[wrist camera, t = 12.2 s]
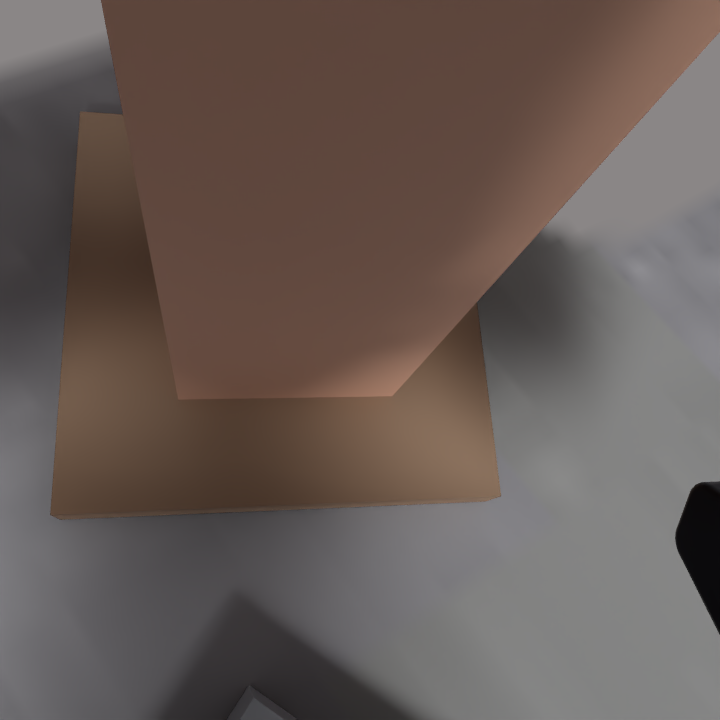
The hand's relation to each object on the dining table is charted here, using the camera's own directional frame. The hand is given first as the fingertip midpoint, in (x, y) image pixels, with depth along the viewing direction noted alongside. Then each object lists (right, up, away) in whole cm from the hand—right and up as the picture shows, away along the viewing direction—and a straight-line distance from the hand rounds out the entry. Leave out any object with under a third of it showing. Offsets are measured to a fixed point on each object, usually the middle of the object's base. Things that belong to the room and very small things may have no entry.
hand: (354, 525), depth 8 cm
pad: (-2, +3, +10) cm, 10 cm away
